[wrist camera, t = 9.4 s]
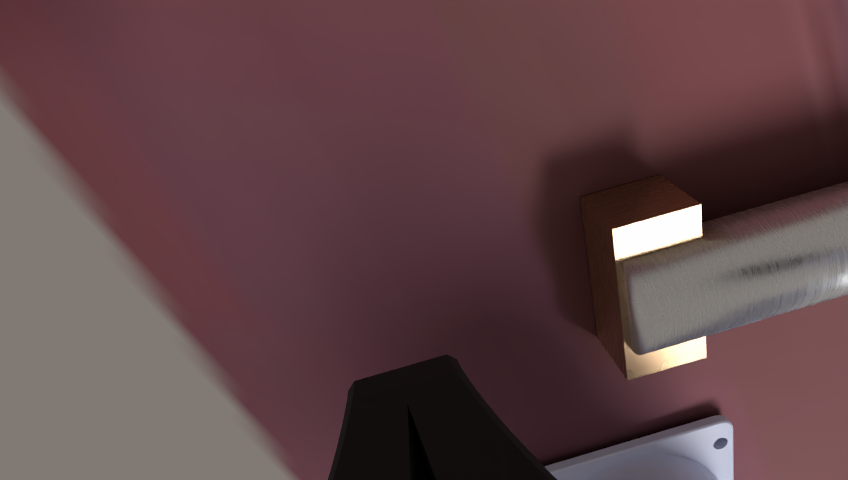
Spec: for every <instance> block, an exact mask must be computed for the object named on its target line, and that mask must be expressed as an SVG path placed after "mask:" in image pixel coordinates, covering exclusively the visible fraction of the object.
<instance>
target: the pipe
mask: <svg viewBox="0 0 848 480" xmlns="http://www.w3.org/2000/svg"><path fill="white" fill-rule="evenodd" d="M580 201H581V209H582V217H583V225H584V233H585V241H586V249H587V257H588V265H589V273H590V281H591V289H592V297H593V305H594V313H595V321H596V329H597V338H598V339H599V341H600V342H601V343H602V345H603V346H604V348H605V349H606V350H607V352H608V353H609V355H610V356H611V358H612V359H613V360H614V362H615V363H616V365H617V366H618V367H619V369H620V370H621V372H622V373H623V375H624V376H625V377H626V379H627V380H631V379H634V378H638V377H641V376H645V375H648V374H651V373H655V372H658V371H661V370H665V369H668V368H672V367H675V366H678V365H682V364H685V363H689V362H692V361H695V360H699V359H702V358H706V336H708V335H712V334H715V333H719V332H722V331H725V330H729V329H732V328H736V327H739V326H742V325H746V324H749V323H753V322H756V321H760V320H763V319H766V318H770V317H773V316H777V315H780V314H783V313H787V312H790V311H794V310H797V309H801V308H804V307H807V306H811V305H814V304H818V303H821V302H824V301H828V300H831V299H835V298H838V297H842V296H845V295H848V181H847V182H843V183H840V184H836V185H833V186H829V187H826V188H822V189H819V190H815V191H811V192H808V193H804V194H801V195H797V196H794V197H790V198H787V199H783V200H780V201H776V202H773V203H769V204H766V205H762V206H759V207H755V208H752V209H748V210H744V211H741V212H737V213H734V214H730V215H727V216H723V217H720V218H716V219H713V220H709V221H706V222H702V211H701V204H700V203H699V202H698V201H696V200H695V199H693V198H692V197H691V196H689V195H688V194H686V193H685V192H684V191H682V190H681V189H679V188H678V187H677V186H675V185H674V184H672V183H671V182H670V181H668V180H667V179H666V178H664V177H663V176H661V175H657V176H654V177H650V178H646V179H643V180H639V181H636V182H632V183H628V184H625V185H621V186H618V187H614V188H611V189H607V190H603V191H600V192H596V193H593V194H589V195H585V196H582V197H580Z"/></svg>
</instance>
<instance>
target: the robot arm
mask: <svg viewBox="0 0 848 480" xmlns="http://www.w3.org/2000/svg"><path fill="white" fill-rule="evenodd" d="M717 439H718V440H717ZM328 480H734V469H733V426H732V424H731V422H730V421H729V420H728V419H727V418H726V417H725V416H722V415H716V416H711V417H708V418H705V419H701V420H698V421H695V422H691V423H688V424H685V425H681V426H678V427H675V428H671V429H668V430H664V431H661V432H658V433H654V434H651V435H648V436H644V437H641V438H638V439H634V440H631V441H628V442H624V443H621V444H618V445H614V446H611V447H608V448H604V449H601V450H598V451H594V452H591V453H588V454H584V455H581V456H578V457H574V458H571V459H568V460H564V461H561V462H557V463H554V464H551V465H547V466H543V465H542V464H541V463H540V462H539V461H538V460H537V459H536V458H535V457H534V456H533V455H532V453H531V452H530V451H529V450H528V449H527V448H526V447H525V446H524V445H523V444H522V443H521V442H520V441H519V440H518V439H517V438H516V437H515V436H514V434H513V433H512V432H511V431H510V430H509V429H508V428H507V427H506V426H505V424H504V423H503V422H502V421H501V420H500V419H499V418H498V416H497V415H496V414H495V413H494V411H493V410H492V409H491V408H490V407H489V405H488V404H487V403H486V402H485V401H484V399H483V398H482V397H481V395H480V394H479V393H478V391H477V390H476V389H475V388H474V386H473V385H472V383H471V382H470V381H469V379H468V378H467V376H466V374H465V373H464V371H463V370H462V368H461V367H460V365H459V363H458V361H457V359H455V358H453V357H451V356H449V355H444V356H440V357H437V358H433V359H430V360H426V361H423V362H419V363H416V364H412V365H409V366H405V367H402V368H398V369H395V370H392V371H388V372H385V373H381V374H378V375H374V376H371V377H367V378H364V379H360V380H357V381H355V382H354V383H353V385H352V386H351V388H350V389H349V391H348V398H347V404H346V410H345V415H344V420H343V424H342V429H341V433H340V437H339V442H338V445H337V449H336V453H335V457H334V461H333V464H332V468H331V471H330V475H329V478H328Z"/></svg>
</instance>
